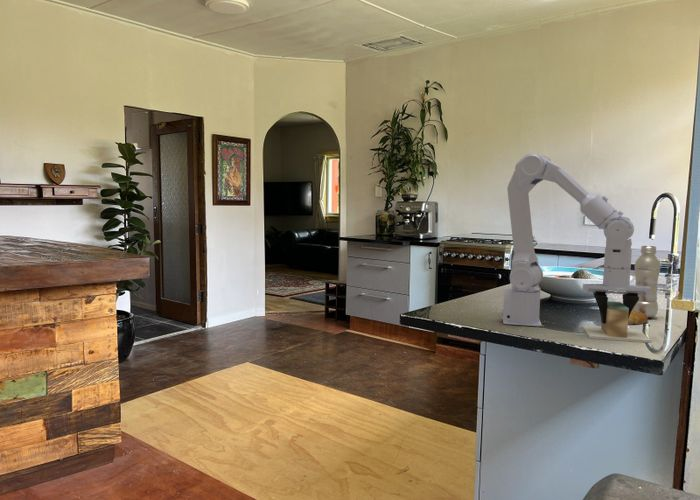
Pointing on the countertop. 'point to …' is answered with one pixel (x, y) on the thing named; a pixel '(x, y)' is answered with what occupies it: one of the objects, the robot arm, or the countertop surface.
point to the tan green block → (616, 320)
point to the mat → (632, 335)
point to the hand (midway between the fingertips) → (613, 323)
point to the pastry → (637, 318)
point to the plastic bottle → (647, 280)
